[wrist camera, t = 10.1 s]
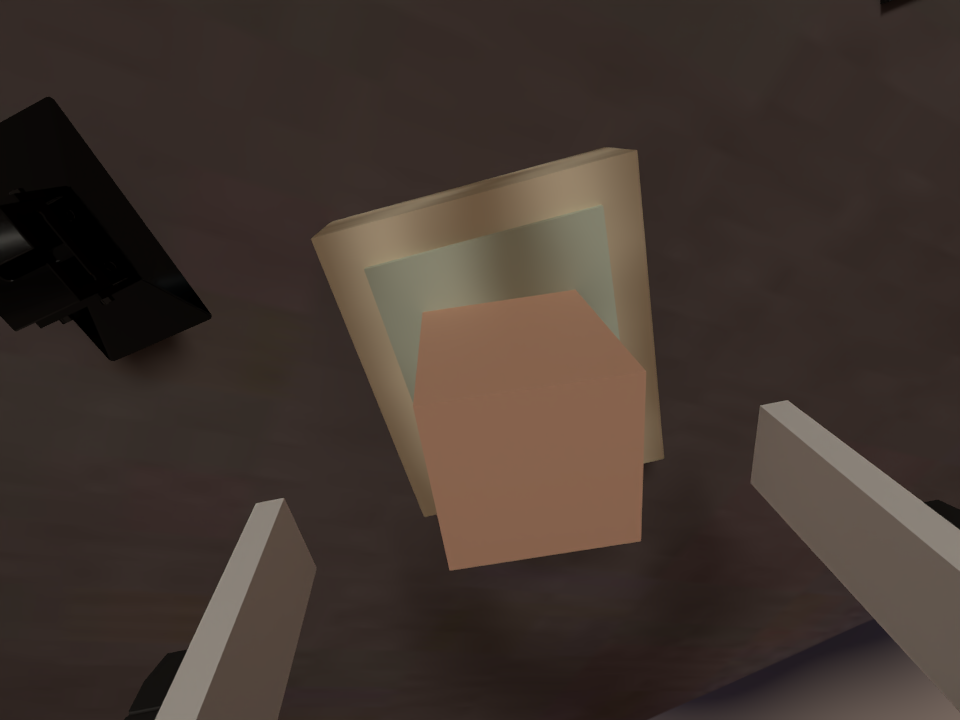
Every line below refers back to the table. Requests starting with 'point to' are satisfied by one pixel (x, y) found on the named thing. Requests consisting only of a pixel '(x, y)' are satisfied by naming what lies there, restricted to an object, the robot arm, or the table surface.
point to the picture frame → (492, 272)
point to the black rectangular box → (80, 243)
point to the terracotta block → (529, 429)
